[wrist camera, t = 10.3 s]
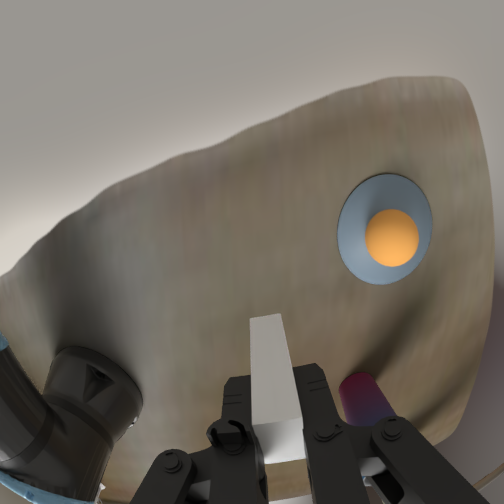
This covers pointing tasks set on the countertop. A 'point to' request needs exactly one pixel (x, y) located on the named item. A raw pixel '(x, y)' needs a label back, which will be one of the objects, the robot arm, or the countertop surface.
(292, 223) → the countertop surface
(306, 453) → the robot arm
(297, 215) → the countertop surface
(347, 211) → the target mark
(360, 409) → the cup
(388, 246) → the ball
